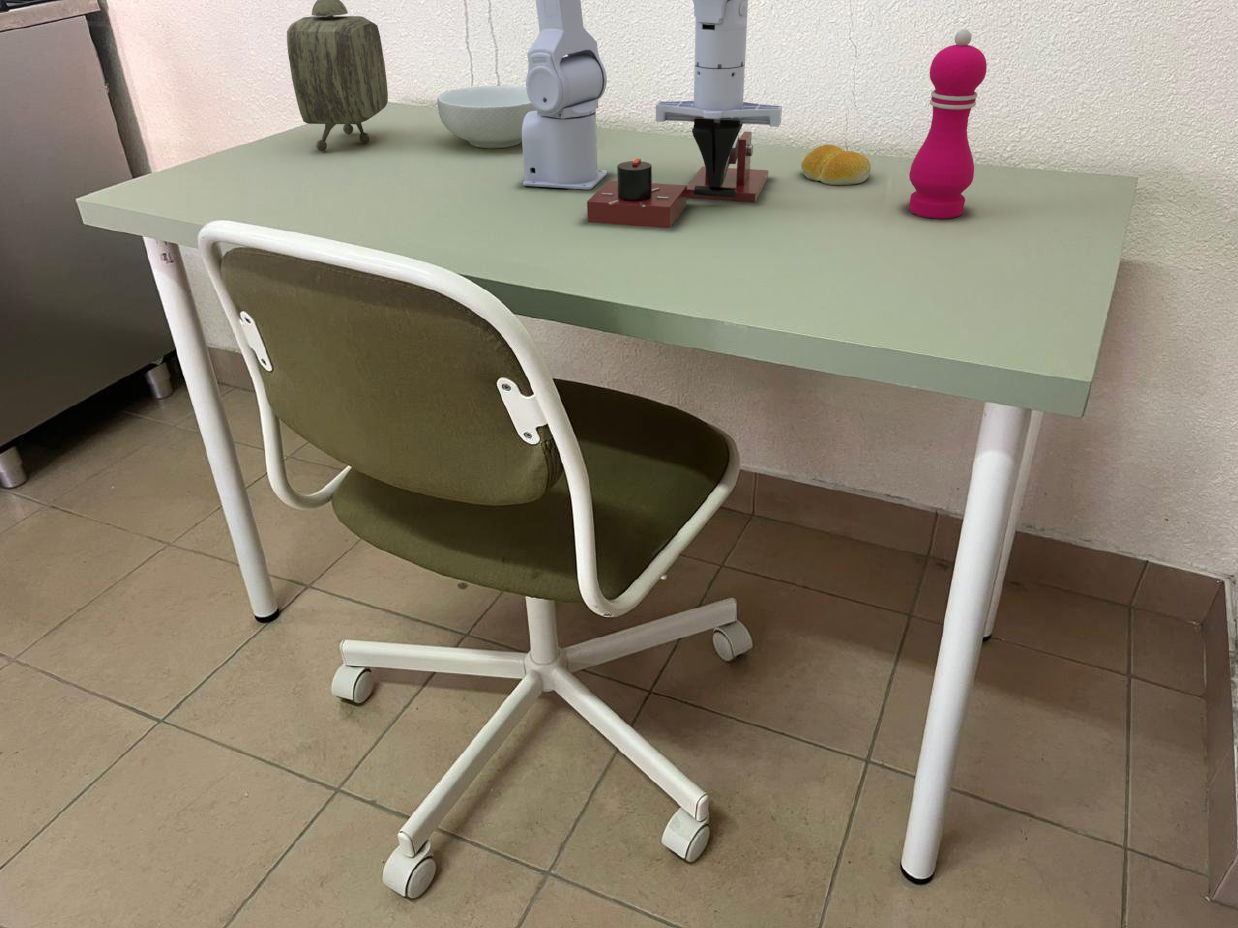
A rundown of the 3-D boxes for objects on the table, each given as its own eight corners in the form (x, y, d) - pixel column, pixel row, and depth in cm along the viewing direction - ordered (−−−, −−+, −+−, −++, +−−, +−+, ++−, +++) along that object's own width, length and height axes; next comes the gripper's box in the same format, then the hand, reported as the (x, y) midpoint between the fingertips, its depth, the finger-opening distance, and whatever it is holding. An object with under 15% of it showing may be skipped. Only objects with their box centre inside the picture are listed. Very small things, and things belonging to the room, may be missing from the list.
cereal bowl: (546, 155, 140) (543, 105, 136) (433, 157, 140) (427, 107, 136) (554, 128, 154) (552, 82, 150) (452, 130, 155) (447, 84, 151)
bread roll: (844, 191, 122) (847, 159, 120) (790, 177, 128) (792, 146, 126) (883, 178, 127) (887, 147, 124) (830, 165, 132) (832, 135, 130)
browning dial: (647, 202, 111) (647, 168, 109) (613, 200, 112) (613, 166, 110) (655, 192, 114) (655, 159, 112) (622, 190, 115) (622, 157, 113)
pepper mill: (968, 204, 116) (999, 25, 106) (966, 222, 111) (999, 35, 100) (907, 200, 118) (932, 24, 108) (901, 217, 113) (927, 33, 102)
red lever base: (755, 203, 118) (758, 147, 115) (684, 198, 121) (685, 143, 117) (767, 179, 127) (771, 126, 124) (701, 175, 129) (703, 123, 126)
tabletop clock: (343, 132, 155) (314, -42, 142) (396, 132, 154) (372, -42, 141) (306, 154, 143) (271, -33, 130) (364, 155, 142) (334, -34, 128)
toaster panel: (585, 225, 112) (585, 201, 111) (609, 201, 120) (608, 179, 119) (668, 231, 110) (668, 207, 109) (686, 206, 118) (687, 183, 116)
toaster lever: (734, 204, 116) (734, 187, 114) (694, 201, 117) (693, 185, 115) (750, 152, 122) (750, 135, 121) (711, 150, 124) (711, 133, 122)
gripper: (648, 69, 107) (649, 190, 114) (778, 73, 103) (770, 198, 110) (663, 58, 113) (663, 174, 120) (787, 61, 109) (779, 181, 116)
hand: (715, 184), depth 116 cm, fingers closed, pressing on toaster lever
